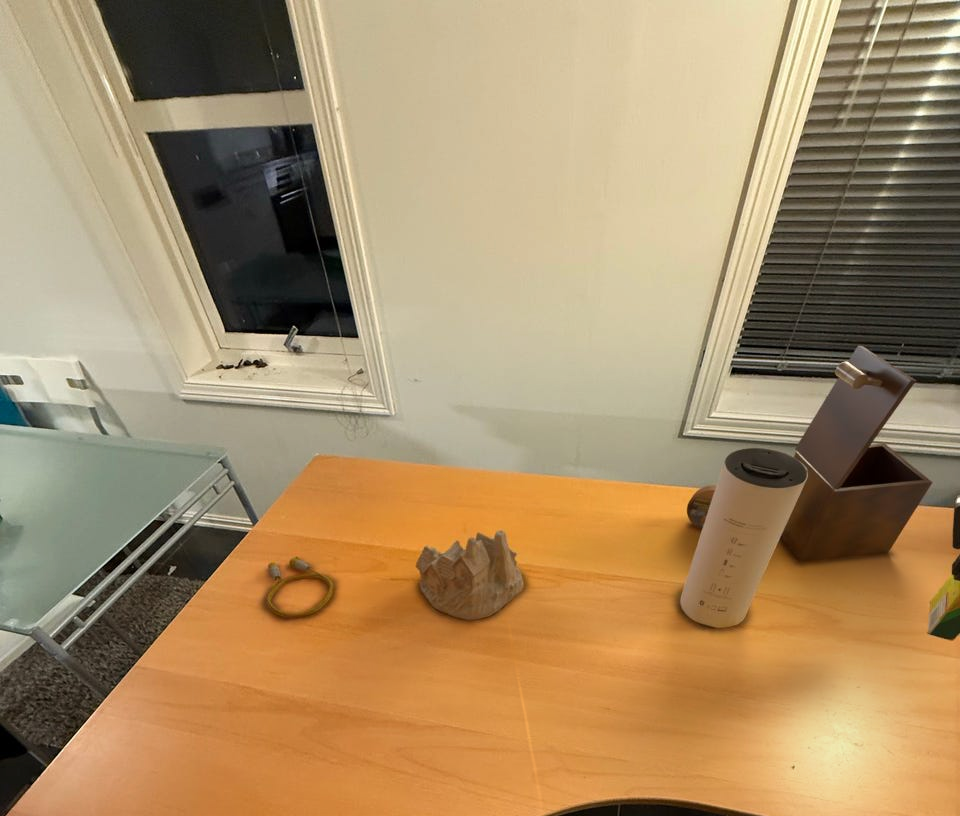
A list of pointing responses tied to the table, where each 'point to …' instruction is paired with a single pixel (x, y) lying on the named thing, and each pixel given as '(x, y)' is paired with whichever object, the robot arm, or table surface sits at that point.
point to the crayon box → (945, 611)
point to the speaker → (741, 534)
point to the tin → (700, 505)
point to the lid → (853, 414)
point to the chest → (855, 508)
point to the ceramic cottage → (470, 576)
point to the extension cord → (299, 565)
